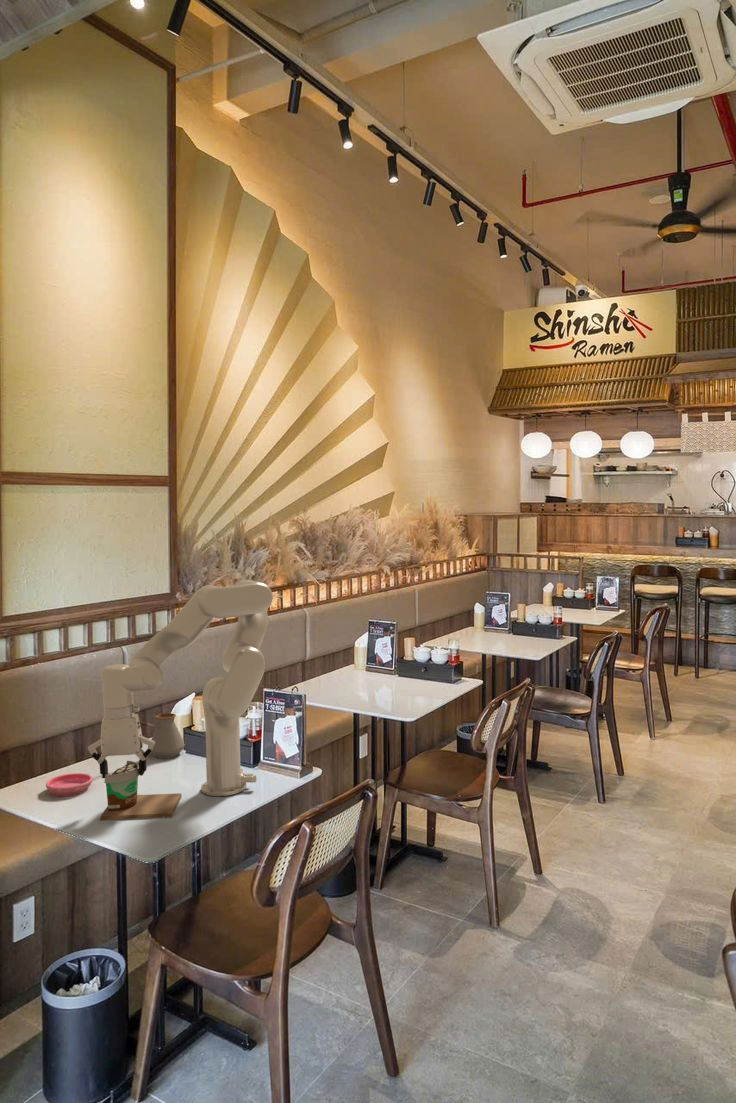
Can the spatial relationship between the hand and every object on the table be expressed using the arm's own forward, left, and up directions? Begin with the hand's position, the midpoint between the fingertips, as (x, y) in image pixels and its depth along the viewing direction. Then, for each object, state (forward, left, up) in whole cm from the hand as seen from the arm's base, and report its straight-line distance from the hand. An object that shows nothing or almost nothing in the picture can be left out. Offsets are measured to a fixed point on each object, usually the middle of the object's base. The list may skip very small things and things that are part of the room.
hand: (123, 775), depth 201 cm
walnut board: (-5, 0, -9) cm, 10 cm away
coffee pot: (+1, -42, -9) cm, 43 cm away
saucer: (+19, -16, -9) cm, 27 cm away
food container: (-1, 0, -8) cm, 8 cm away
